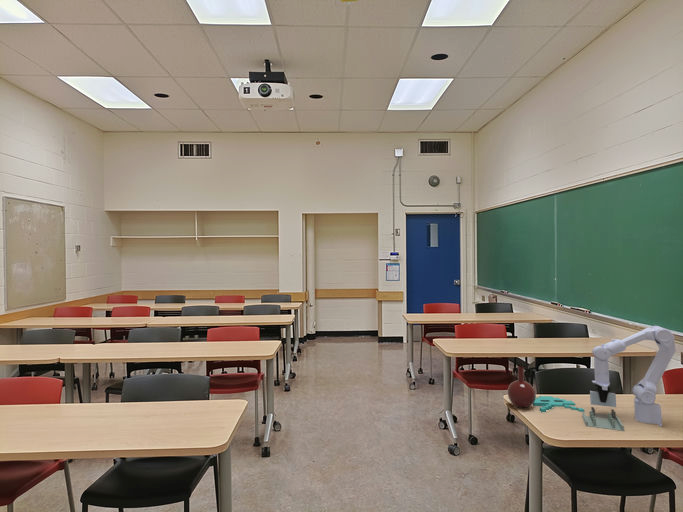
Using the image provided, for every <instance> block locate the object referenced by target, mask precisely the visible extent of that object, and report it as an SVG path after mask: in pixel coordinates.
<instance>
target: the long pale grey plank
mask: <svg viewBox="0 0 683 512" xmlns="http://www.w3.org/2000/svg"><path fill="white" fill-rule="evenodd" d="M616 395H617V394H616V393H615V392H609V393H608V396H607V401H606V403H604V402H601V401H600V398H599V393H598V391H597V390H596V391H594V390H589V399H590V402H589V403H590V405H592V406H601V407H610V408H617V396H616Z"/></svg>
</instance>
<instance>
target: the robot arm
mask: <svg viewBox="0 0 683 512" xmlns="http://www.w3.org/2000/svg"><path fill="white" fill-rule="evenodd" d="M675 338H676V337H675V336H674V334H673V332H672V331H671V330H670V329H668V328H665V327H661V326H660V325H652V326H650V327H646V328H644V329H642V330H639V331H638V332H636V333H633V334H632V335H629V336H627V337H626V338H623V339H619V338H612V339H611V341H609V342H607V343H601V344H600V345H597V346H594V348H593V349H592V351H591V354H592V355H593V360H594V362H593V367H594V368H593V369H594V380H591V382H592V383H593V384H594V387H595V388H596V392H598V393H599V398H600V401H601V402H604V403H606V401H607V396H608V393H610V391H611V388H610V385H611V382H610V370H609V369H610V367H609V366H610V364H609V359H610V357H612V356H614V355H617V354H619V353H622V352H624V351H626V350H627V347H629V346H632V345H634V344H637V343H639V342H643V341H652V342H653V341H654V342H655V344H656V346H657V347H658V348H659V349H658V351H657V352H656V355H655V357H654V358H653V360H652V362H651V364H650V366H649V368H648V369H647V370H646V373H645V375H644V376H643V378H642V379H640V381H639V382H638V383H637V384H635V385H634V386H633V387H632V389H631V390H632V395H633V396H634V397H635V398H634V400H633V403H634V404H633V405H634V406H633V407H634V419H635V421H637V422H640V423H643V424H651V425H652V424H654V425H658V426H659V427H661V428H662V427H663V419H662V418H663V417H662V409H661V405H660V403H655V401H656V399H657V398H656V394H657V392H658V387H657V386H658V384H659V382H660V380H661V379H662V377H663V375H664V373H665V371H666V370H667V368H668V366H669V364H670V362H671V360H672V358H673V357H674V355H675V353H676V350H677V349H676V343H675Z"/></svg>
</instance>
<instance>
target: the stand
mask: <svg viewBox="0 0 683 512" xmlns="http://www.w3.org/2000/svg"><path fill="white" fill-rule="evenodd" d="M590 408H591V410H590V411H592V412H593V414H594V416H595V417H598V418H606V419H608V413H598V412H596V409H595V407H594V406H591V407H590ZM590 411H588V413H589V415H590ZM610 412H611V413H610V414H611V416H612V418H613V419H614V420H616V416H617V414H616V411H615V409H614V408H613V409H612V408H611V410H610Z"/></svg>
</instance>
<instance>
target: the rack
mask: <svg viewBox="0 0 683 512" xmlns="http://www.w3.org/2000/svg"><path fill="white" fill-rule="evenodd" d="M589 412H590V414H589V416H588V415H586V413H585V412H581V413H582V414H581V415H582V416H581V417H582V419H583V422H584V425H585V427H590V428H595V429H596V428H597V429H603V430H604V429H605V430H613V431H617V432H619V431H621V432H625V425H624V424H623V423H622V421H621V419H620V418H619V416H618V415H616V420H615V419H613V418H612V416H611V413H610V412H607V414H608V419H607V418H599V417H595V416H594V414H593V412H592V411H591V410H589Z"/></svg>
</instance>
